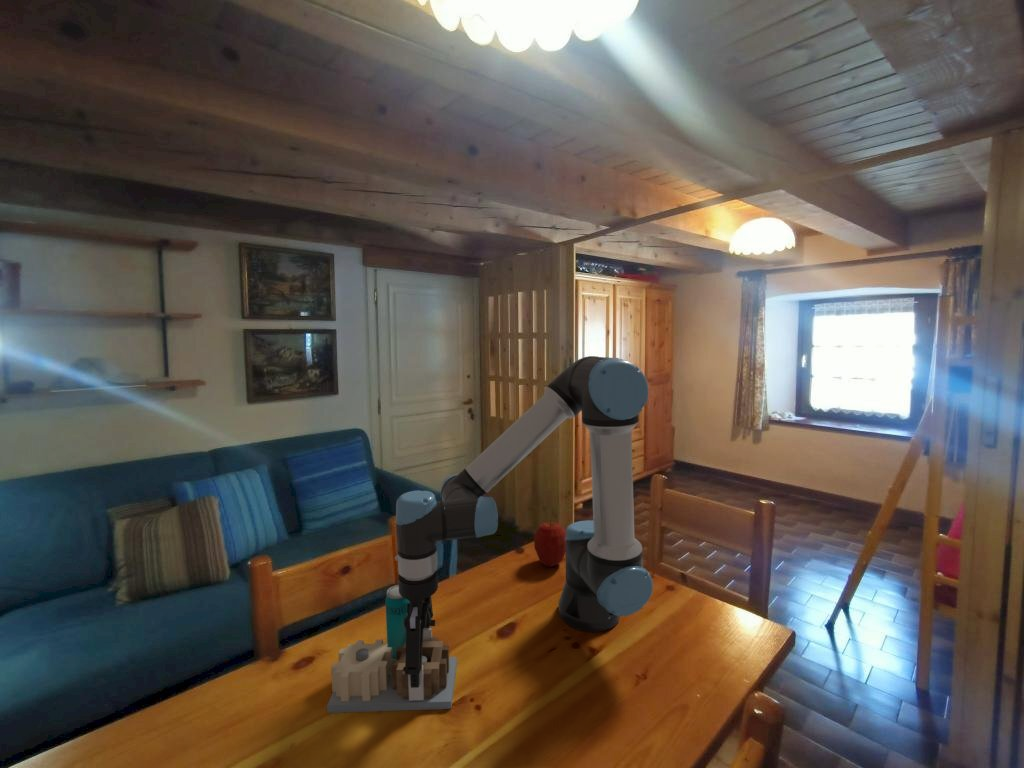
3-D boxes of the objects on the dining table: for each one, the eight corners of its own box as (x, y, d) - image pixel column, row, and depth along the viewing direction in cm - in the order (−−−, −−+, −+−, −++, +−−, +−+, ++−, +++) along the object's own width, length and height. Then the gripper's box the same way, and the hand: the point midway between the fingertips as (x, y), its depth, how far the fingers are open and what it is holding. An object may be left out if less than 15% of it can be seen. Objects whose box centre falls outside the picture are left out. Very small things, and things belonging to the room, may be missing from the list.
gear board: (457, 663, 98) (456, 630, 98) (451, 708, 86) (450, 671, 86) (347, 666, 98) (345, 633, 97) (326, 712, 86) (324, 675, 85)
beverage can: (408, 666, 98) (405, 599, 96) (383, 662, 99) (380, 596, 97) (418, 648, 103) (416, 584, 102) (395, 645, 104) (392, 582, 103)
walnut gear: (450, 659, 97) (450, 637, 97) (444, 697, 87) (444, 673, 86) (401, 660, 97) (400, 638, 97) (389, 699, 87) (388, 674, 86)
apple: (571, 570, 136) (571, 525, 135) (538, 573, 135) (538, 528, 133) (562, 554, 147) (562, 512, 145) (531, 557, 145) (530, 514, 143)
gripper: (410, 545, 101) (413, 639, 103) (383, 606, 78) (389, 726, 80) (444, 544, 101) (447, 638, 103) (428, 605, 78) (432, 724, 81)
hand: (421, 677), depth 92 cm, fingers closed on walnut gear, 10 cm apart
